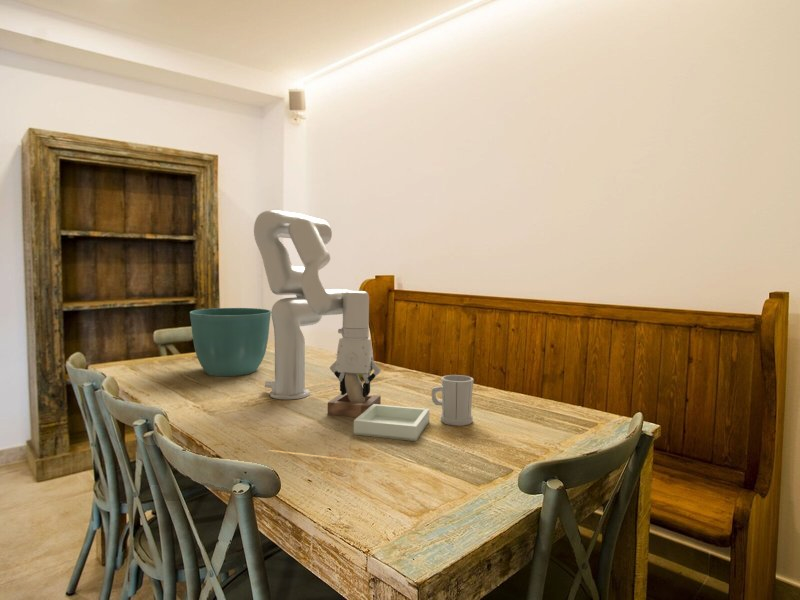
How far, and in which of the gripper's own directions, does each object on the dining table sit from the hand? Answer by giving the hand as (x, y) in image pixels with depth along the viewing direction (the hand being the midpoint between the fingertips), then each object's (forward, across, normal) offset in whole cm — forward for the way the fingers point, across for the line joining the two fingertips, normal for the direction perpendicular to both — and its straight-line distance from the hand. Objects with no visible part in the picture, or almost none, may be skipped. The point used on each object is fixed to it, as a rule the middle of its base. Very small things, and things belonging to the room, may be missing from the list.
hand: (354, 394), depth 146 cm
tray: (+5, +15, -12) cm, 20 cm away
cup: (+5, +29, -2) cm, 30 cm away
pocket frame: (+5, 0, 0) cm, 5 cm away
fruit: (+5, -13, +42) cm, 44 cm away
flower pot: (+5, -64, +35) cm, 73 cm away
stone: (+5, 0, 0) cm, 5 cm away
